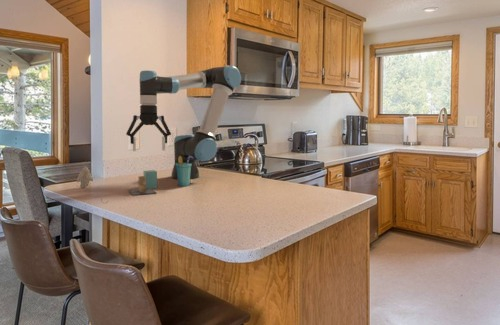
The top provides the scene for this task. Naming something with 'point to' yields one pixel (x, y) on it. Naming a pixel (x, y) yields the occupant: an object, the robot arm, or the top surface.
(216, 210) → the top surface
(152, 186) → the teal rectangular block
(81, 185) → the arrowhead
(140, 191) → the tan and gray stand
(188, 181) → the cup
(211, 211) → the top surface
